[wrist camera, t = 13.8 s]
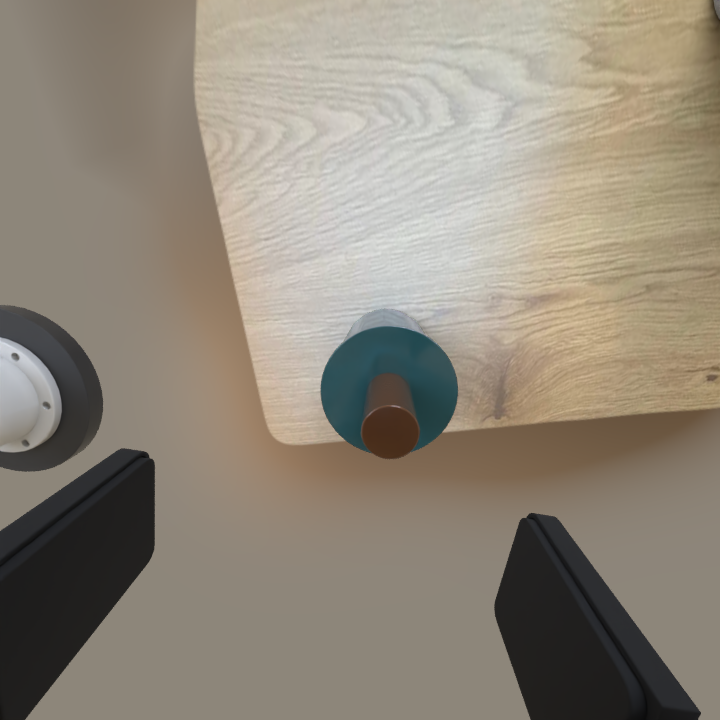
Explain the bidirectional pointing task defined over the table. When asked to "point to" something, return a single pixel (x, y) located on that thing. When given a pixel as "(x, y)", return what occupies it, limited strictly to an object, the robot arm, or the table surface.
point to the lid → (389, 390)
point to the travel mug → (717, 7)
